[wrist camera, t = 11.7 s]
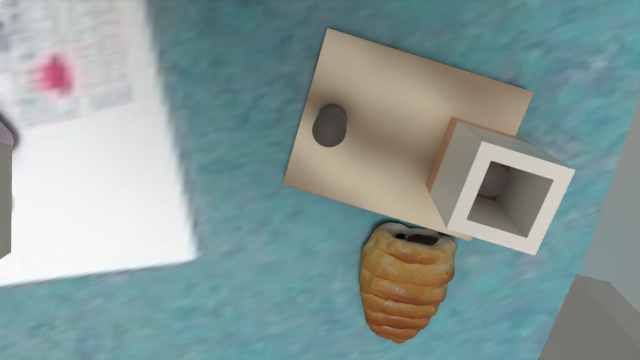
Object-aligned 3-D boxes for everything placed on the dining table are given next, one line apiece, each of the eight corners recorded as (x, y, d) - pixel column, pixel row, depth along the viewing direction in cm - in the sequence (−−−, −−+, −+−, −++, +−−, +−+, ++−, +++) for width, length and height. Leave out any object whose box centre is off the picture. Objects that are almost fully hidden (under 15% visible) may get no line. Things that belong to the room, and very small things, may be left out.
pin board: (328, 28, 32) (323, 26, 27) (526, 89, 33) (562, 101, 27) (285, 178, 36) (272, 205, 30) (465, 232, 36) (487, 270, 30)
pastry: (429, 336, 39) (437, 367, 35) (347, 321, 39) (346, 350, 35) (456, 229, 36) (468, 251, 32) (368, 214, 36) (369, 233, 33)
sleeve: (425, 184, 34) (446, 228, 26) (451, 116, 32) (482, 141, 24) (493, 205, 34) (534, 255, 26) (522, 138, 32) (575, 169, 24)
